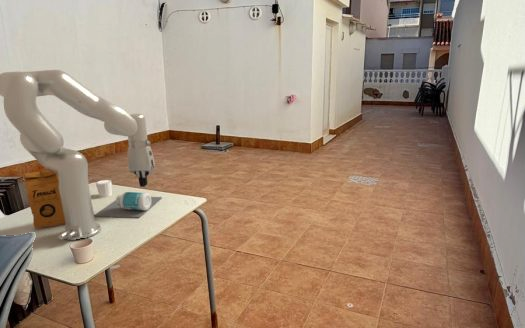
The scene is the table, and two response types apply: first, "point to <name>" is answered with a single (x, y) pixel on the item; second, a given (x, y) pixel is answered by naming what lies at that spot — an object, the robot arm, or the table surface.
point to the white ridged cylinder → (104, 188)
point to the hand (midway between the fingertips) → (143, 185)
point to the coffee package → (44, 198)
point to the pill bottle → (134, 201)
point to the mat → (124, 210)
